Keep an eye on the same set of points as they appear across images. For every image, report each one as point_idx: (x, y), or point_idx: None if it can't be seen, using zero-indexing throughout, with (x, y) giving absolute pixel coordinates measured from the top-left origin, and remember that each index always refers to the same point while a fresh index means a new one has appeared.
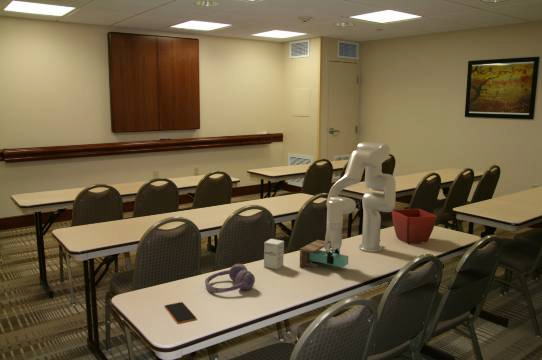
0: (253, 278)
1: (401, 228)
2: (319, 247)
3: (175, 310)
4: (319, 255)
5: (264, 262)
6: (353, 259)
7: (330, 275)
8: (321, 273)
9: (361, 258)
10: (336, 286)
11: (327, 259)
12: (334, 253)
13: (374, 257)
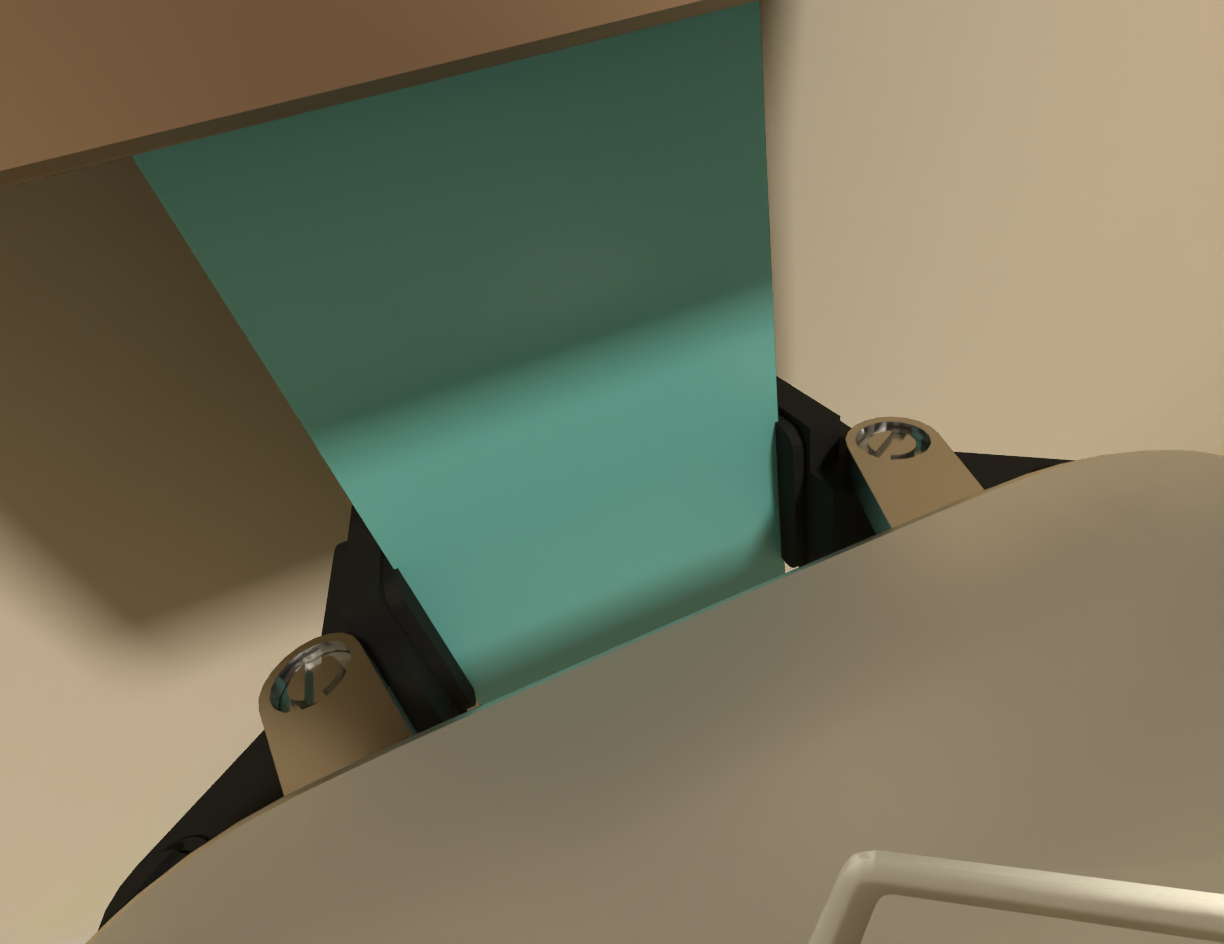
0: None
1: None
2: (76, 90)
3: None
4: (193, 220)
5: None
6: (1055, 310)
7: (222, 640)
8: (87, 512)
9: (1120, 348)
10: (38, 923)
11: (360, 529)
12: (751, 478)
13: (1182, 411)
